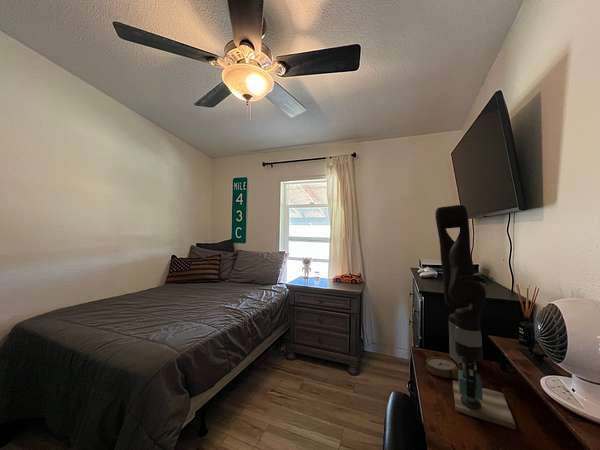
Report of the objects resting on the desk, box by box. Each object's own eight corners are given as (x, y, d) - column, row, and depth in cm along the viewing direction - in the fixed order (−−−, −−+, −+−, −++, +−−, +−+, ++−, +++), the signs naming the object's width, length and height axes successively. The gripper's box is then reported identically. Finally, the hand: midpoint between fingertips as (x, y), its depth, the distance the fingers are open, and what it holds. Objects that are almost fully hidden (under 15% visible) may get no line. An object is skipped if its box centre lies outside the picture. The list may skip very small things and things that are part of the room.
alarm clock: (427, 354, 108) (465, 358, 100) (429, 366, 108) (468, 370, 99) (423, 365, 99) (465, 370, 91) (426, 378, 99) (469, 384, 90)
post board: (452, 384, 91) (452, 361, 91) (502, 397, 83) (501, 373, 84) (455, 410, 77) (454, 384, 78) (515, 429, 70) (514, 400, 70)
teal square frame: (458, 384, 83) (458, 369, 83) (479, 389, 80) (479, 374, 80) (459, 393, 78) (459, 378, 78) (482, 400, 75) (482, 384, 75)
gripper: (453, 331, 88) (455, 377, 87) (456, 346, 75) (458, 400, 74) (478, 335, 84) (480, 383, 83) (485, 352, 71) (487, 409, 71)
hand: (469, 391), depth 79 cm, fingers closed on teal square frame, 6 cm apart
